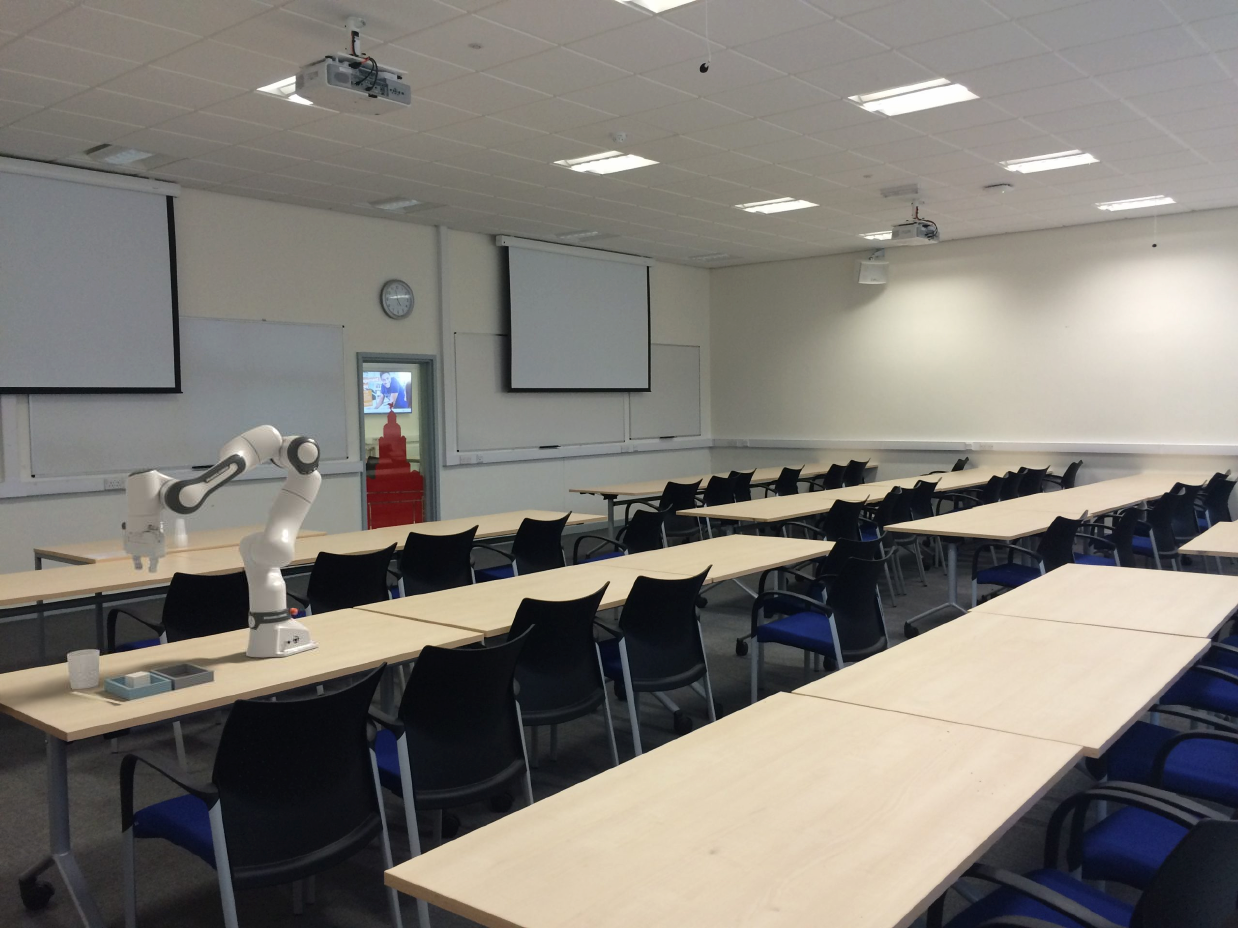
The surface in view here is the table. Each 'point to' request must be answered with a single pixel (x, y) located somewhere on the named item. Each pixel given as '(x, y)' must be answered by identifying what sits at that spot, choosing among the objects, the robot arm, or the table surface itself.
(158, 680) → the bin
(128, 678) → the white cube
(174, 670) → the tray
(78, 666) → the white cup
